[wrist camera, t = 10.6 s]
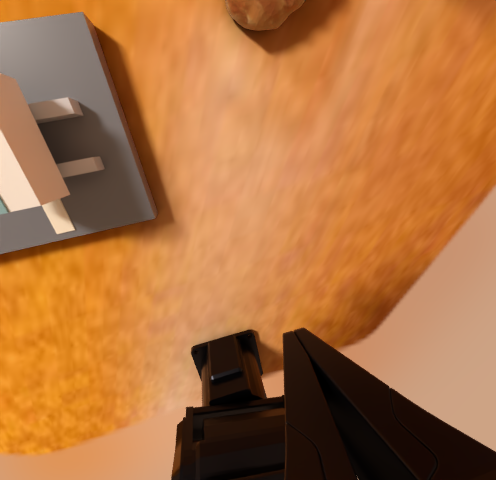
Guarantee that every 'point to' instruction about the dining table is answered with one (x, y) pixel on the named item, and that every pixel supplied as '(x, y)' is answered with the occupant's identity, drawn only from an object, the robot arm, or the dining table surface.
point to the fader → (24, 155)
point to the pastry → (261, 12)
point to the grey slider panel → (73, 132)
